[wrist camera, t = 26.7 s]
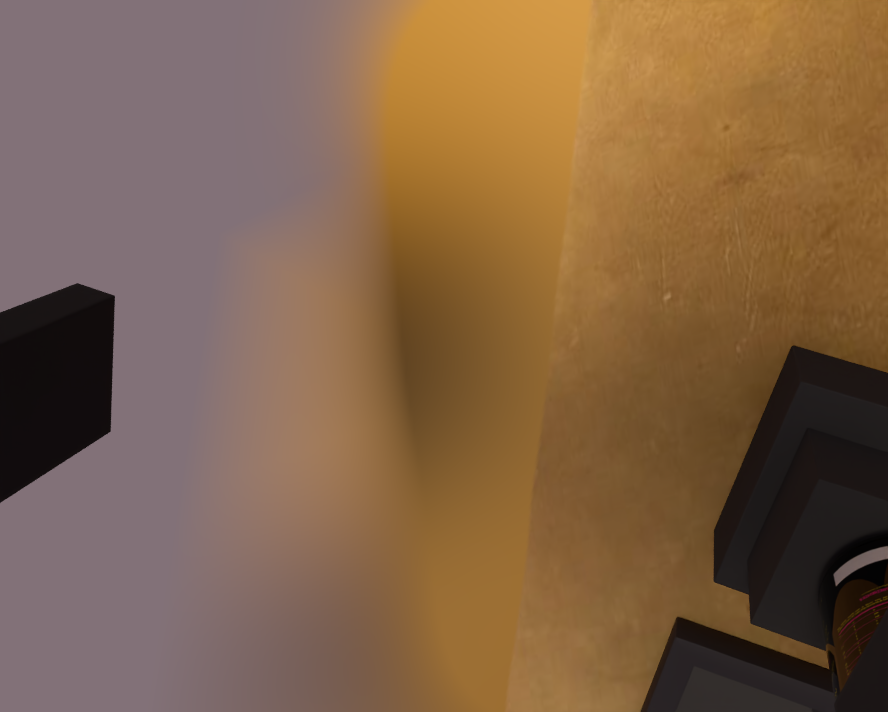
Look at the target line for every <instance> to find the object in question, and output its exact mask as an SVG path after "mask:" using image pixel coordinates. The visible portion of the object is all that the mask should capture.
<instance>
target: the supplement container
mask: <svg viewBox="0 0 888 712" xmlns="http://www.w3.org/2000/svg"><path fill="white" fill-rule="evenodd" d="M818 605H819V611H820V617H821V623H822V629H823V634H824V640H825V646H826V651H827V657H828V663H829V669H830V674H831V680H832V686H833V691H834V697H835V701H836V699H837V698H838V696H839V694H840V692H841V690H842V689H843V687H844V685H845V683H846V681H847V680H848V678H849V676H850V674H851V673H852V671H853V669H854V667H855V665H856V664H857V662H858V660H859V658H860V657H861V655H862V653H863V651H864V649H865V648H866V646H867V644H868V642H869V641H870V639H871V637H872V635H873V633H874V632H875V630H876V628H877V626H878V624H879V623H880V621H881V619H882V617H883V616H884V614H885V612H886V610H887V608H888V534H884V535H879V536H875V537H871V538H868V539H865V540H863V541H860V542H858V543H856V544H854V545H852V546H851V547H849V548H848V549H846V550H845V551H843V552H842V553H841V554H840V555H839V556H838V557H837V558H836V559H835V560H834V561H833V562H832V563H831V565H830V566H829V567H828V569H827V571H826V572H825V574H824V576H823V578H822V581H821V584H820V587H819V592H818Z"/></svg>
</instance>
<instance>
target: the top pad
mask: <svg viewBox="0 0 888 712" xmlns="http://www.w3.org/2000/svg"><path fill="white" fill-rule="evenodd" d="M884 534H888V452H884V451H881V450H878V449H875V448H872V447H868V446H865V445H862V444H859V443H856V442H852V441H849V440H846V439H843V438H840V437H836V436H833V435H830V434H827V433H823V432H820V431H817V430H814V429H811V428H807V430H806V432H805V434H804V436H803V438H802V441H801V443H800V445H799V447H798V450H797V452H796V454H795V456H794V458H793V461H792V463H791V465H790V467H789V469H788V472H787V474H786V476H785V478H784V480H783V483H782V485H781V487H780V489H779V492H778V494H777V496H776V498H775V500H774V503H773V505H772V507H771V509H770V511H769V514H768V516H767V518H766V520H765V522H764V525H763V527H762V529H761V531H760V534H759V536H758V538H757V540H756V542H755V545H754V547H753V549H752V551H751V553H750V556H749V558H748V560H747V564H748V583H749V603H750V622H751V624H753V625H756V626H759V627H762V628H764V629H767V630H770V631H772V632H775V633H778V634H781V635H783V636H786V637H789V638H792V639H794V640H797V641H800V642H803V643H805V644H808V645H811V646H814V647H816V648H819V649H822V650H825V651H826V646H825V640H824V634H823V629H822V623H821V617H820V611H819V605H818V592H819V587H820V584H821V581H822V578H823V576H824V574H825V572H826V571H827V569H828V567H829V566H830V565H831V563H832V562H833V561H834V560H835V559H836V558H837V557H838V556H839V555H840V554H841V553H842V552H843V551H845V550H846V549H848V548H849V547H851V546H852V545H854V544H856V543H858V542H860V541H863V540H865V539H868V538H871V537H875V536H879V535H884Z"/></svg>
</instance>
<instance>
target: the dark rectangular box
mask: <svg viewBox="0 0 888 712" xmlns="http://www.w3.org/2000/svg"><path fill="white" fill-rule="evenodd" d="M807 428H811V429H814V430H817V431H820V432H823V433H827V434H830V435H833V436H836V437H840V438H843V439H846V440H849V441H852V442H856V443H859V444H862V445H865V446H868V447H872V448H875V449H878V450H881V451H884V452H888V373H886V372H882V371H879V370H875V369H872V368H868V367H865V366H862V365H858V364H855V363H851V362H848V361H845V360H841V359H838V358H834V357H831V356H828V355H824V354H821V353H817V352H814V351H811V350H807V349H804V348H800V347H797V346H792V347H791V349H790V352H789V354H788V357H787V359H786V361H785V364H784V366H783V368H782V371H781V373H780V376H779V378H778V380H777V383H776V385H775V387H774V390H773V392H772V394H771V397H770V399H769V402H768V404H767V406H766V409H765V411H764V413H763V416H762V418H761V421H760V423H759V425H758V428H757V430H756V432H755V435H754V437H753V440H752V442H751V444H750V447H749V449H748V451H747V454H746V456H745V458H744V461H743V463H742V466H741V468H740V470H739V473H738V475H737V477H736V480H735V482H734V485H733V487H732V489H731V492H730V494H729V496H728V499H727V501H726V503H725V506H724V508H723V511H722V513H721V515H720V518H719V520H718V522H717V525H716V527H715V530H714V582H715V583H718V584H721V585H724V586H726V587H729V588H732V589H735V590H738V591H740V592H743V593H746V594H749V583H748V564H747V560H748V558H749V556H750V553H751V551H752V549H753V547H754V545H755V542H756V540H757V538H758V536H759V534H760V531H761V529H762V527H763V525H764V522H765V520H766V518H767V516H768V514H769V511H770V509H771V507H772V505H773V503H774V500H775V498H776V496H777V494H778V492H779V489H780V487H781V485H782V483H783V480H784V478H785V476H786V474H787V472H788V469H789V467H790V465H791V463H792V461H793V458H794V456H795V454H796V452H797V450H798V447H799V445H800V443H801V441H802V438H803V436H804V434H805V432H806V430H807Z"/></svg>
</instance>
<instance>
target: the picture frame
mask: <svg viewBox="0 0 888 712" xmlns="http://www.w3.org/2000/svg"><path fill="white" fill-rule="evenodd" d="M834 703H835V697H834V691H833V686H832V680H831V674H830V670H827V669H824V668H821V667H819V666H816V665H813V664H810V663H807V662H804V661H801V660H799V659H796V658H793V657H790V656H787V655H784V654H781V653H779V652H776V651H773V650H770V649H767V648H764V647H761V646H759V645H756V644H753V643H750V642H747V641H744V640H741V639H738V638H736V637H733V636H730V635H727V634H724V633H721V632H718V631H716V630H713V629H710V628H707V627H704V626H701V625H698V624H696V623H693V622H690V621H687V620H684V619H681V618H678V617H677V619H676V621H675V624H674V626H673V629H672V632H671V634H670V637H669V639H668V642H667V645H666V647H665V650H664V652H663V655H662V658H661V660H660V663H659V665H658V668H657V671H656V673H655V676H654V678H653V681H652V684H651V686H650V689H649V691H648V694H647V697H646V699H645V702H644V704H643V707H642V710H641V712H835V707H834Z"/></svg>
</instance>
